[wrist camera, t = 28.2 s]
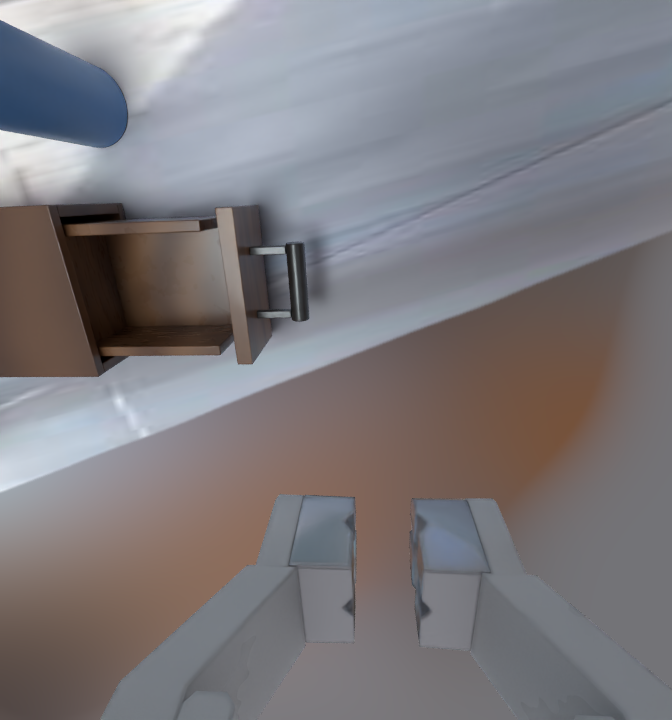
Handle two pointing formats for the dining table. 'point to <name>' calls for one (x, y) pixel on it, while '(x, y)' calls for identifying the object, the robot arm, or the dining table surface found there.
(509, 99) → the dining table surface
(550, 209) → the dining table surface
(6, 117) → the bottle
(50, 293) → the cabinet
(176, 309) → the drawer
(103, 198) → the dining table surface
